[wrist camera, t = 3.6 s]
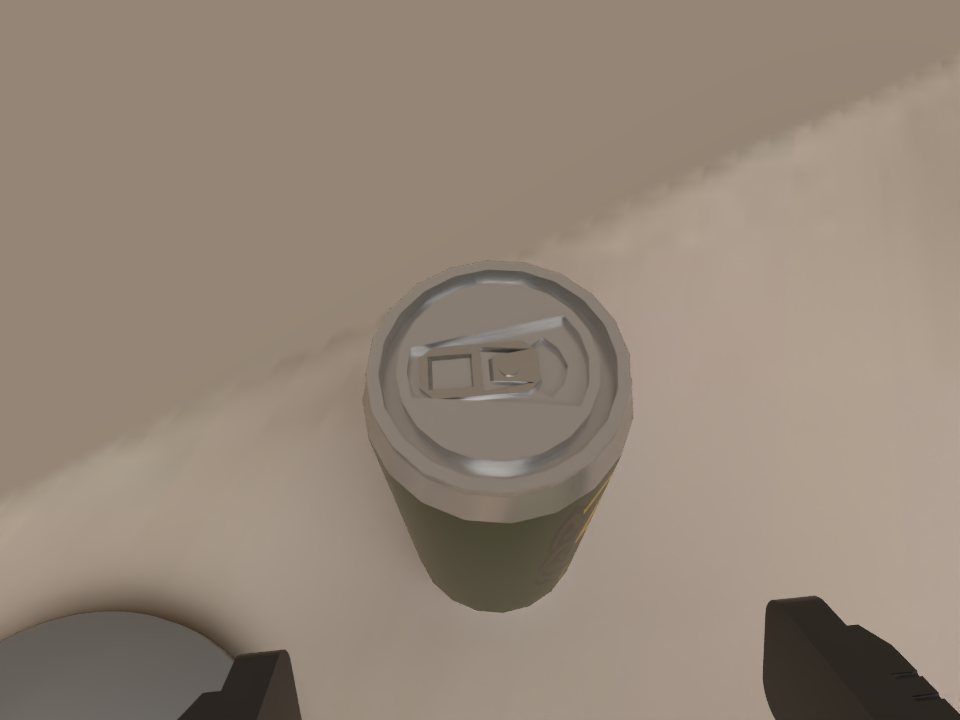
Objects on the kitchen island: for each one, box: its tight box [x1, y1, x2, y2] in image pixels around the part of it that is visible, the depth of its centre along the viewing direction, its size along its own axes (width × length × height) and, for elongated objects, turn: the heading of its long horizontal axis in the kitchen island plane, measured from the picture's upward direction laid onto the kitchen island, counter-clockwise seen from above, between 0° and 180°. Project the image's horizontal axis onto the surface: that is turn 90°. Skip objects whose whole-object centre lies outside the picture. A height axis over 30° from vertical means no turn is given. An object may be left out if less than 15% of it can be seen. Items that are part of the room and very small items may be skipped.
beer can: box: [363, 261, 633, 613], centre depth 17 cm, size 5×5×12 cm
